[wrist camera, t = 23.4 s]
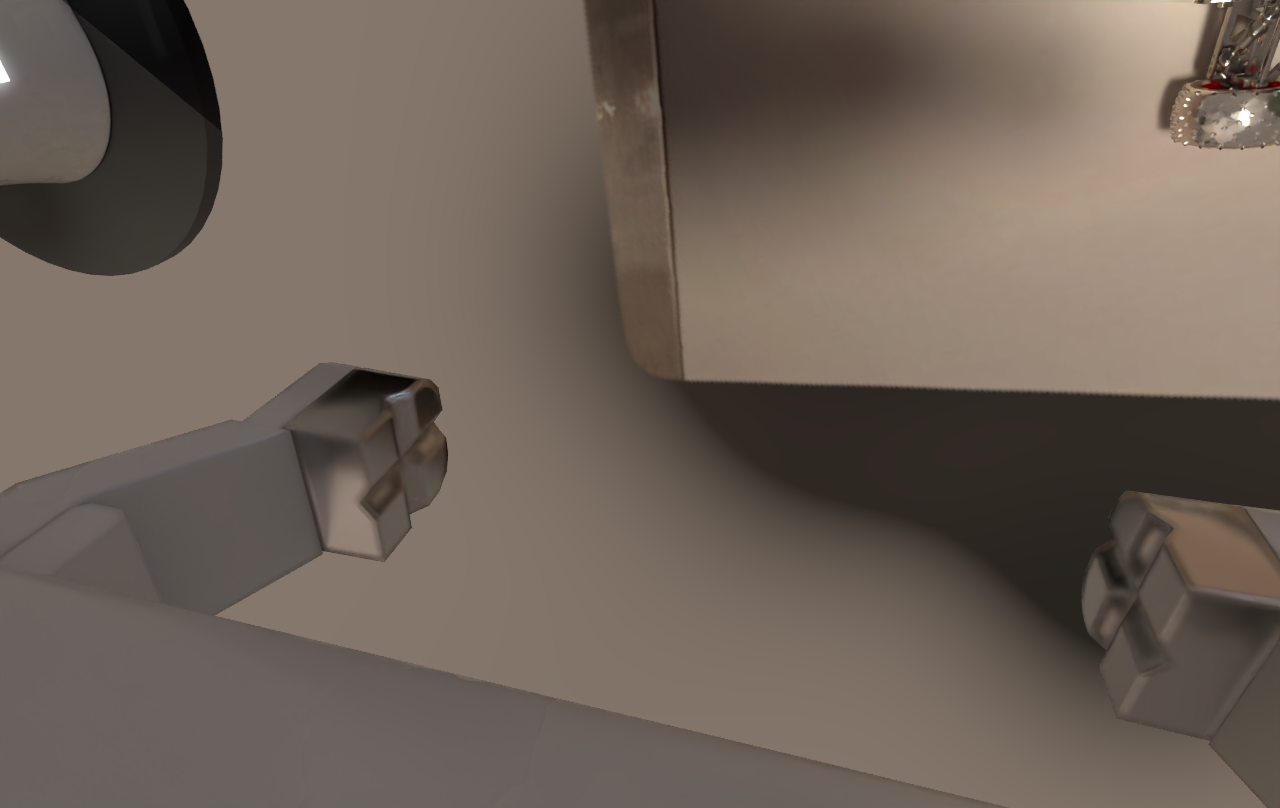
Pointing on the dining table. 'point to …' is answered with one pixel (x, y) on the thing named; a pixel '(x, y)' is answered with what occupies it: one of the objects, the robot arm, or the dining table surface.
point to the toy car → (1235, 85)
